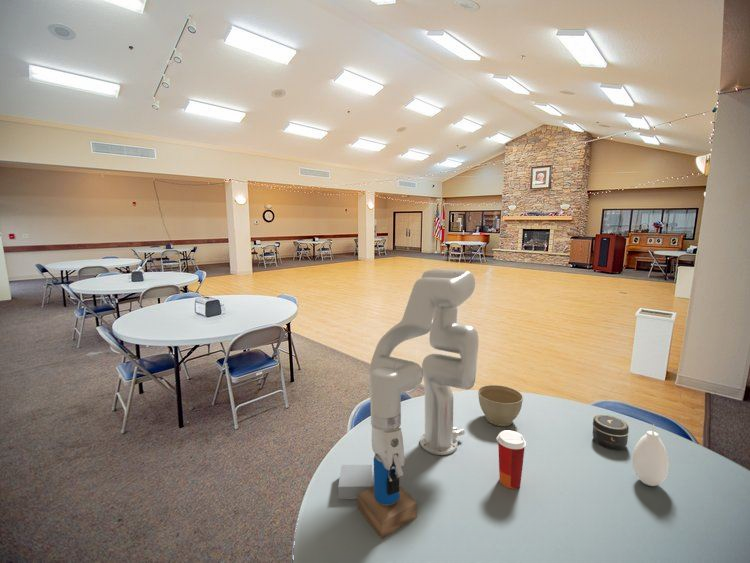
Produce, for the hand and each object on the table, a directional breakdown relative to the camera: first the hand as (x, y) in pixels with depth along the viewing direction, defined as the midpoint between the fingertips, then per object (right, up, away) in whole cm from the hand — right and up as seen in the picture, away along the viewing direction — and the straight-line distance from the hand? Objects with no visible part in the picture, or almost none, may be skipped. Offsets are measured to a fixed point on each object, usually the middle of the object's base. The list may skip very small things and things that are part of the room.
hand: (386, 483), depth 87 cm
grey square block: (-8, -7, +10) cm, 15 cm away
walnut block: (0, -8, +1) cm, 8 cm away
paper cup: (+36, -6, +11) cm, 38 cm away
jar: (+77, -4, +29) cm, 82 cm away
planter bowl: (+45, -2, +44) cm, 63 cm away
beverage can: (0, -4, 0) cm, 4 cm away
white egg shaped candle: (+75, -6, +10) cm, 76 cm away
